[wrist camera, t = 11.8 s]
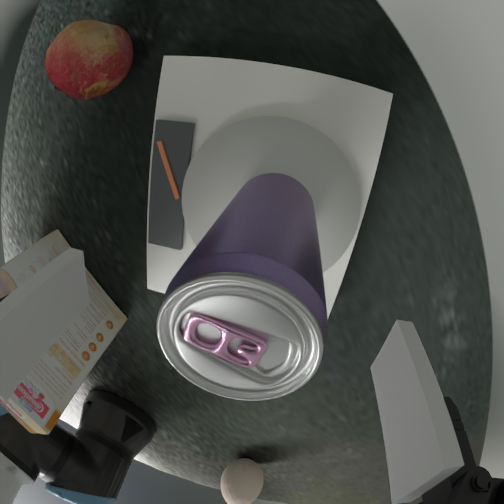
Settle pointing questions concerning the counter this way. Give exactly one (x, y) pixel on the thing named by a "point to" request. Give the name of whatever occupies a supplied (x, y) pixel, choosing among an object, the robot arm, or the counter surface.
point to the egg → (241, 481)
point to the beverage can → (250, 297)
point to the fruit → (89, 59)
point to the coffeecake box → (58, 342)
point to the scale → (258, 153)
